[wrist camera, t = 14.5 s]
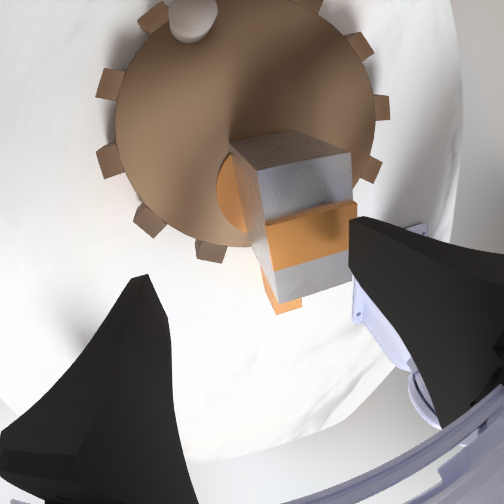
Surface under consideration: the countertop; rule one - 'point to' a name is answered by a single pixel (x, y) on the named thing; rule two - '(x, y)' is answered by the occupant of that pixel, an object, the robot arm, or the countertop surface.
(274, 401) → the countertop surface
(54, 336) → the countertop surface
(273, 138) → the white banded box
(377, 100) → the brown gear wheel
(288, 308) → the block
